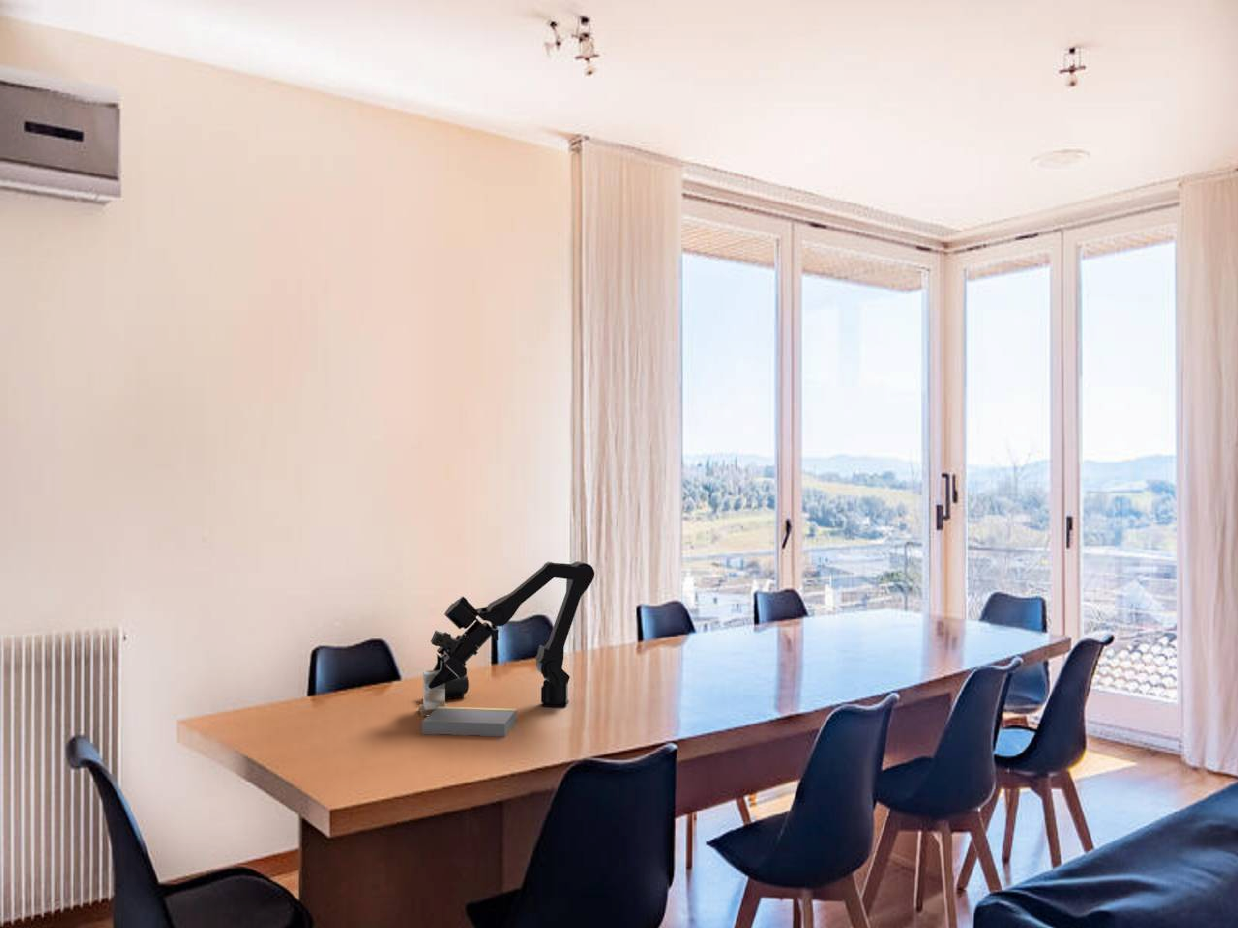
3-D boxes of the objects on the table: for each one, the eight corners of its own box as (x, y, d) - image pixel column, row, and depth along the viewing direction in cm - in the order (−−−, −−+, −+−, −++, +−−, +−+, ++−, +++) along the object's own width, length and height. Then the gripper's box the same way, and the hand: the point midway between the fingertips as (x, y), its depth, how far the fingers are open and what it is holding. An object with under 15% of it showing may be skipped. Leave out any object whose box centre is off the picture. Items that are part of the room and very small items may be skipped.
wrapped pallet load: (445, 708, 246) (445, 668, 246) (449, 714, 240) (449, 674, 240) (418, 710, 244) (419, 670, 244) (421, 716, 238) (421, 675, 238)
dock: (516, 721, 234) (516, 708, 234) (504, 736, 220) (504, 723, 220) (438, 718, 236) (438, 706, 236) (422, 733, 222) (422, 720, 222)
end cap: (435, 702, 253) (435, 677, 253) (425, 697, 259) (425, 673, 259) (469, 698, 258) (469, 673, 258) (458, 693, 264) (458, 669, 264)
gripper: (445, 615, 252) (403, 657, 249) (454, 625, 235) (409, 671, 231) (474, 642, 255) (433, 685, 251) (485, 655, 237) (441, 701, 233)
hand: (428, 685), depth 242 cm, fingers closed on wrapped pallet load, 5 cm apart
